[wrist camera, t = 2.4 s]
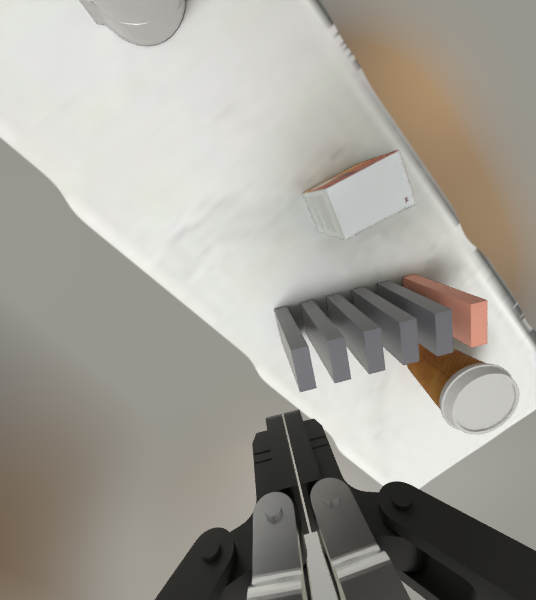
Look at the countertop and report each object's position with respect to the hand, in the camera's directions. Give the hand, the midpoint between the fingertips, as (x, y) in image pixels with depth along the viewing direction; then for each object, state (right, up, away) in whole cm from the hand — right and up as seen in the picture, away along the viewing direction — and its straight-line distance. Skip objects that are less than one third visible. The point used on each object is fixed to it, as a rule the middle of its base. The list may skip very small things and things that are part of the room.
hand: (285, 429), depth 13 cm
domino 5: (+16, +6, +30) cm, 35 cm away
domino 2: (+5, +3, +30) cm, 31 cm away
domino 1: (+2, +2, +30) cm, 30 cm away
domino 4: (+13, +5, +30) cm, 33 cm away
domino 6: (+20, +7, +31) cm, 37 cm away
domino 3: (+9, +4, +30) cm, 32 cm away
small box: (+8, +19, +26) cm, 33 cm away
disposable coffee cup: (+24, -3, +34) cm, 42 cm away
